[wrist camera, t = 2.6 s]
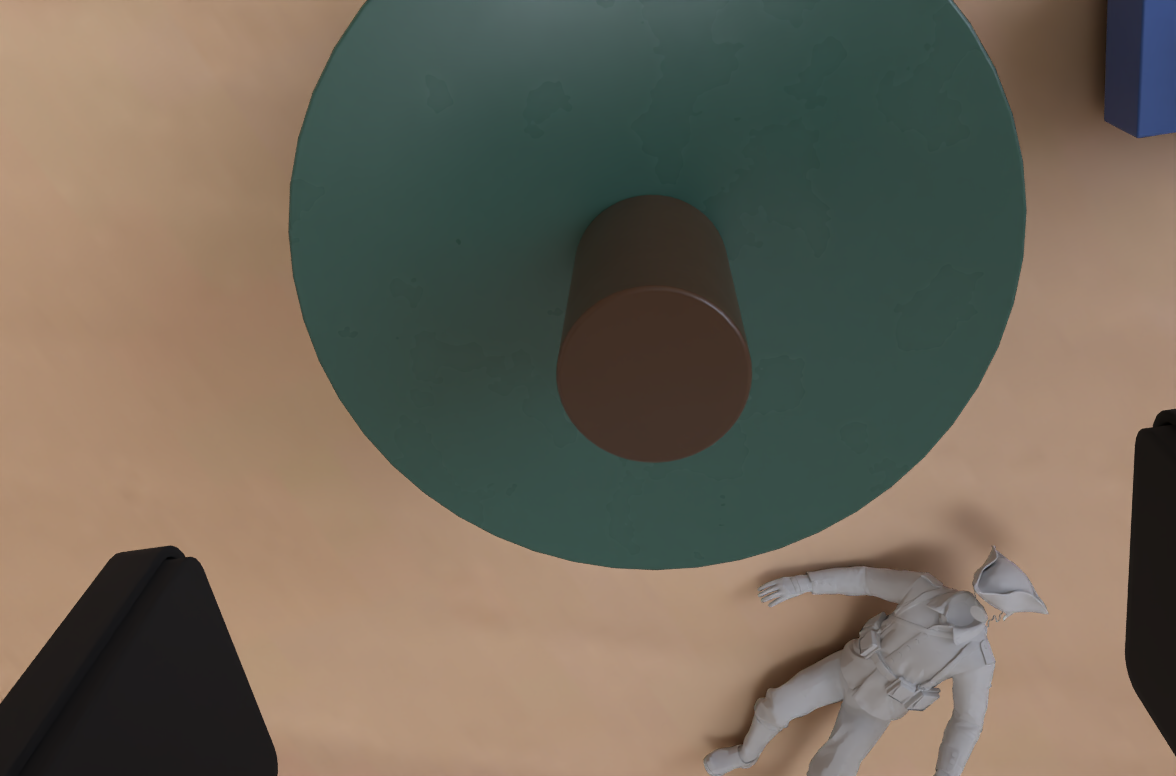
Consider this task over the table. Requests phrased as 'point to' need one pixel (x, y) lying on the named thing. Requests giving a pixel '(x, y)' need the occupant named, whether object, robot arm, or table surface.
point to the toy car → (1141, 66)
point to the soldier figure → (891, 664)
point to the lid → (656, 259)
